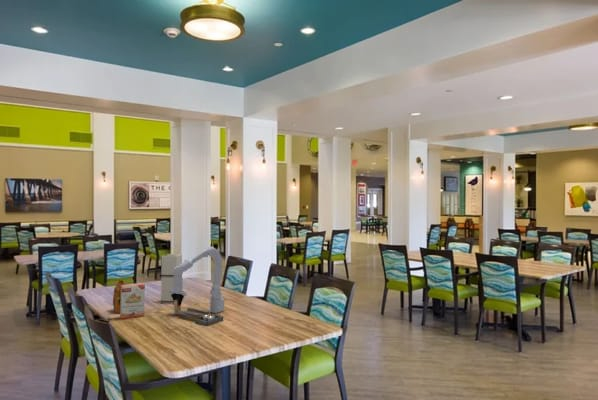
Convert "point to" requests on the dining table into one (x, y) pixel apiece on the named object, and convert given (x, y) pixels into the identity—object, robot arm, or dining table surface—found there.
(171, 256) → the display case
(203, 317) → the chip
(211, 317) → the chip
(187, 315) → the slot board
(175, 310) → the brown block with knob
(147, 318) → the dining table surface
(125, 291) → the cracker box
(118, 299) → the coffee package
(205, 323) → the tray
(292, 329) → the dining table surface
